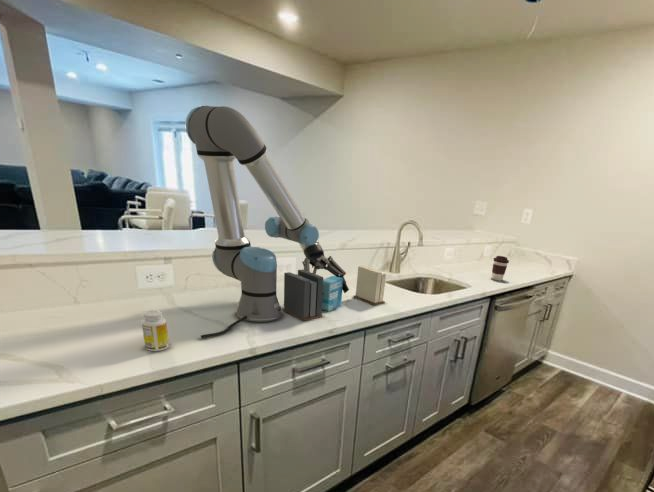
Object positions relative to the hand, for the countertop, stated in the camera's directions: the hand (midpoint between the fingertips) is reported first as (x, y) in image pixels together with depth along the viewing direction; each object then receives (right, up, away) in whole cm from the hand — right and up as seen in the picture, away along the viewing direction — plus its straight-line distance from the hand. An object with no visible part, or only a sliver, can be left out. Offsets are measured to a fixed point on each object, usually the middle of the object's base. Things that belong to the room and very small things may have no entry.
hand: (334, 293), depth 153 cm
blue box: (-3, -5, +4) cm, 7 cm away
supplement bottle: (-41, -21, -47) cm, 66 cm away
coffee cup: (+91, +23, +101) cm, 137 cm away
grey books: (-11, -9, -7) cm, 16 cm away
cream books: (+12, 0, +20) cm, 23 cm away
